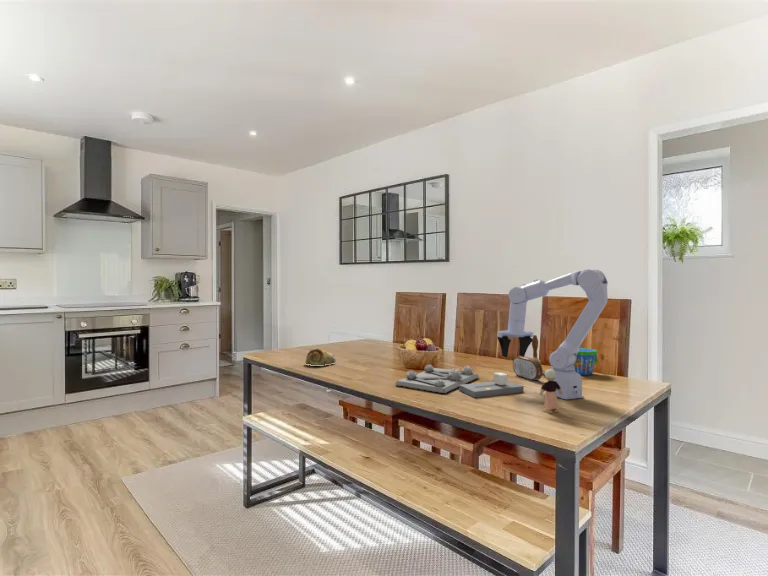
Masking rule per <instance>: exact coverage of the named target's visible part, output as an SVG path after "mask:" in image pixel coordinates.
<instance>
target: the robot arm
mask: <svg viewBox="0 0 768 576" xmlns="http://www.w3.org/2000/svg"><path fill="white" fill-rule="evenodd" d="M608 282H609V281H608V279H607V277H606V275H605V274H604V272H603V271H601V270H599V269H588V268H587V269H584V270H579V271H573V272H570V273H568V274H567V273H566V274H564V275H561V276H559V277H556V278H554V279H550V280H548V281H545V280H543V279H540V280H539V279H534V280H533V282H530V283H527V284H521V286H520V287H518V286H514V287H513V288H511V289H510V290H509V291H508V294H507V296H508V299H509V301H510V303H509V312H508V313H509V314H508V323H507V324H508V325H507V330H498V331H497V334H496V337H497V340H498V342H499V345H500V350H501V356H502V357H504V358H507V357H508V356H509V354H508V353H509V348H510V345H511V342H512V339H510V338H518V340H519V341H518V342H519V350H518V351H519V352H518V354H519V356H522V357H524V356H525V357H526V353H527V351H528V348H529V346H530V345H531V344H532V341H533V335H534V332H533V331H531V330H525V326H526V325H525V322H526V314H527V305H528V304H527V303H528V302H529V301H533V300H535V299H538V298H542V297H546V296H547V295H548V293H549V292H550V291H552V290H555V289H560V288H563V287H567V286H570V285H572V286H579V287H580V288H582V290H583V291H584V292H585V295H586V297H587V300H588V302H587V303H586V305H585V307H584V308H583V309H582V311H581V313H580V315H579V316H578V318H577V320H575V322H574V324H573V326H572V328H571V329H570V331H569V333H568V334H567V336H566V337H565V340H564V341H562V343H561V344H560V345H559V346H558V348H557V349H556V350H554V351H553V352H552V353H550V355H549V358H548V360H549V364H550V366H551V369H553V370H554V371H555V373H556V377H555V379H554V380H553V381H556V382H557V383H558V384H559V386H560V387H561V391H562V394H559V391H558V390H557V389H556V395H557V398H560V399H562V400H574V399H580V398H581V399H583V398H584V397H585V396H584V395H583V377H582V375H580V374H579V373H576V372H575V370H574V366H573V364H574V363H575V362H576V356H577V353H578V351H579V348H581V347H580V346H581V345H582V343H583V342H584V340H585V339H586V337H587V336H588V334H589V333H590V331H591V329H592V327H593V326H594V324H595V323H596V321H597V320H598V318H599V316H600V315H601V313H602V312H603V310H604V309H605V307H606V305H607V304H608V299H609V298H608V284H609V283H608Z"/></svg>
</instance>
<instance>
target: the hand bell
mask: <svg viewBox="0 0 768 576" xmlns="http://www.w3.org/2000/svg"><path fill="white" fill-rule="evenodd" d="M532 339H533V341H532V342H531V346H532V350H533V351H532V352H533V353H532V358H533V359H536V360H537V361H538V362H539V363H540V364H541V367H542V360H541V359H539V358H538V348H539V339H538V336H537V335H535V334H533V337H532ZM542 371H543V372H542V374H543V375H545V371H546V370H544V369H543V367H542Z"/></svg>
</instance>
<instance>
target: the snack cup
mask: <svg viewBox="0 0 768 576" xmlns="http://www.w3.org/2000/svg"><path fill="white" fill-rule="evenodd" d="M597 354H598V351H597V349H594V348H593V349H592V348H588V347H587V348H583V347H579V351H578V353H577V356H576V362H575V363H574V364H573V366H574V370H575V372H576V373H579V374H580V375H581V376H589V375H590V376H591V375H593V373H594V367H595V365H598V363H599V362H598V361H599V360H598V359H599V358H598V355H597Z"/></svg>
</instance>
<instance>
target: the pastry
mask: <svg viewBox="0 0 768 576" xmlns="http://www.w3.org/2000/svg"><path fill="white" fill-rule="evenodd" d="M336 359H337V358H336V357H335V355H334V354H333V353H331V352H329V351H326V350H323V349H321V348H320V349H319V348H316V349H311V350H309V351H308V352H307V355H306V358H305V362H304V364H305V363H306V364H311V365H325V364H331V363H335V362H336V363H337V360H336ZM336 363H335V364H336Z"/></svg>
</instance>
